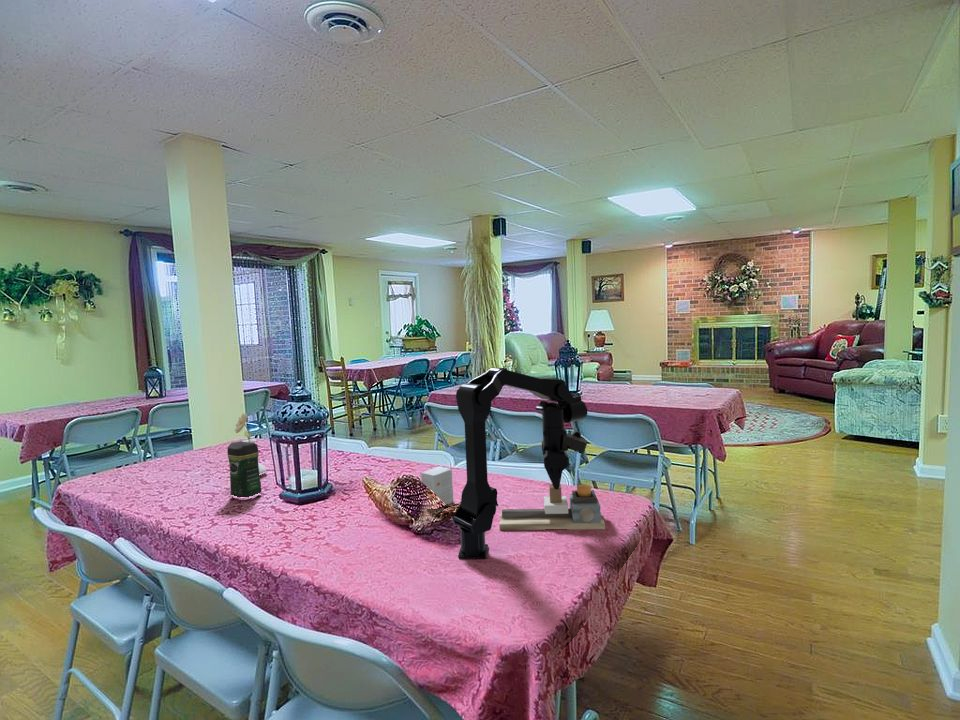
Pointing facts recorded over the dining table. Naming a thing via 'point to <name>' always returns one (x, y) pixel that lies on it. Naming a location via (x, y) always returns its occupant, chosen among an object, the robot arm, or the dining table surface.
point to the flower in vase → (239, 427)
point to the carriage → (555, 502)
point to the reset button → (583, 490)
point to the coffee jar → (244, 469)
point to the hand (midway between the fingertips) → (555, 483)
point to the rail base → (556, 516)
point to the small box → (439, 482)
